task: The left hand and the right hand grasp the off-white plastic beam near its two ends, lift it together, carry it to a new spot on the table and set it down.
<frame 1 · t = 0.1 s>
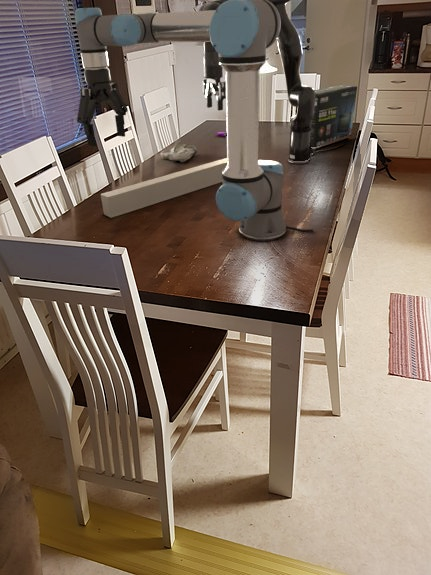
left hand: (107, 140, 148), 28 cm above the table, tool pointing down, fingers open, 13 cm apart
right hand: (214, 108, 184), 29 cm above the table, tool pointing down, fingers open, 8 cm apart
router box: (325, 143, 245), on the table
beam: (182, 192, 186), on the table
fossil: (178, 158, 230), on the table
handgun: (227, 138, 262), on the table
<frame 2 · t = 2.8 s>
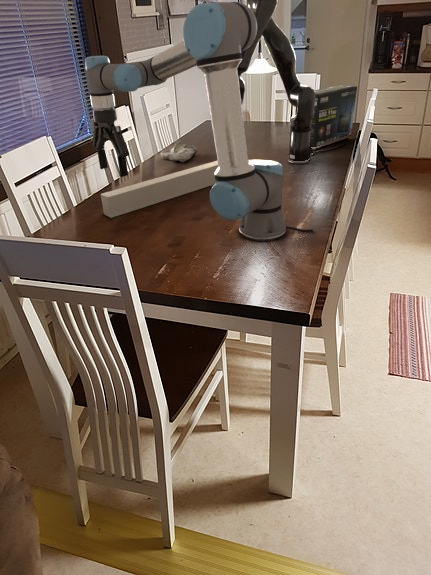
left hand: (113, 172, 162), 15 cm above the table, tool pointing down, fingers open, 13 cm apart
right hand: (234, 168, 201), 3 cm above the table, tool pointing down, fingers closed on beam, 5 cm apart
beam: (182, 192, 186), on the table, touching right hand
everything else where it was.
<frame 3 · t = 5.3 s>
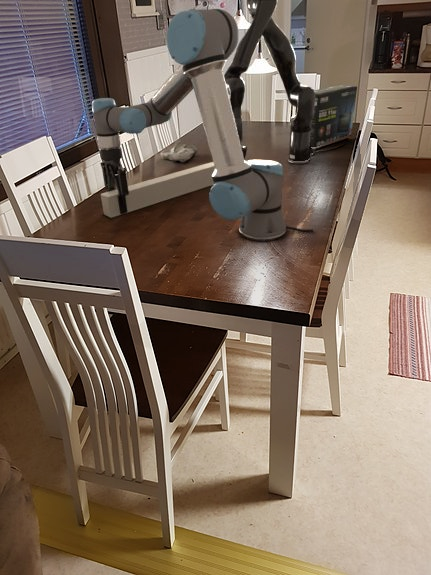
left hand: (119, 210, 169), 1 cm above the table, tool pointing down, fingers closed on beam, 5 cm apart
right hand: (234, 168, 201), 3 cm above the table, tool pointing down, fingers closed on beam, 5 cm apart
beam: (182, 192, 186), on the table, touching left hand, right hand
everything else where it was.
when the left hand's fingers open (2 cm above the table, at t = 10.0 s): beam stays where it is, on the table.
when the right hand's fingers open (4 cm above the table, at t = 10.2 s): beam stays where it is, on the table.
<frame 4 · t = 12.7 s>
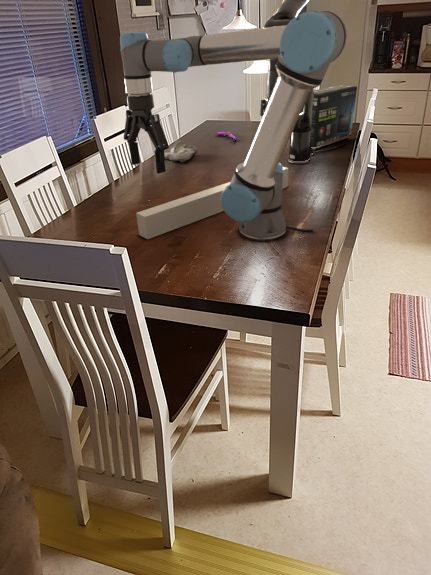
left hand: (148, 168, 141), 22 cm above the table, tool pointing down, fingers open, 13 cm apart
right hand: (275, 130, 173), 23 cm above the table, tool pointing down, fingers open, 8 cm apart
beam: (221, 208, 169), on the table
everything else where it was.
at the end: beam inside the target area (0.4 cm from its centre), on the table; beam tilted 0°; beam never tilted more than 1° during the clip; both hands held the beam at the same time; the left hand is holding nothing; the right hand is holding nothing; beam at rest at the end (0.0 cm/s) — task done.
